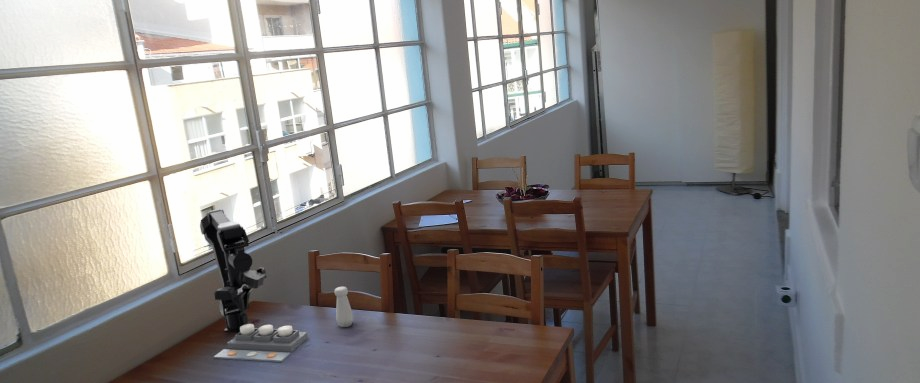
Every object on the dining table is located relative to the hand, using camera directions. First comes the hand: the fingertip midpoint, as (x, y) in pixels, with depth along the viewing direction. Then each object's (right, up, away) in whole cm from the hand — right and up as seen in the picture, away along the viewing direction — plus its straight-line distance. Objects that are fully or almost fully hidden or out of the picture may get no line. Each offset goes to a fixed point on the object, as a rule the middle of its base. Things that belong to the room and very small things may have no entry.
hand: (244, 310), depth 220 cm
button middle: (+7, -7, -1) cm, 10 cm away
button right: (+14, -7, -3) cm, 16 cm away
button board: (+8, -11, 0) cm, 13 cm away
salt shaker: (+31, -7, +9) cm, 33 cm away
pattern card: (+5, -13, -8) cm, 16 cm away
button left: (+1, -7, +2) cm, 7 cm away
